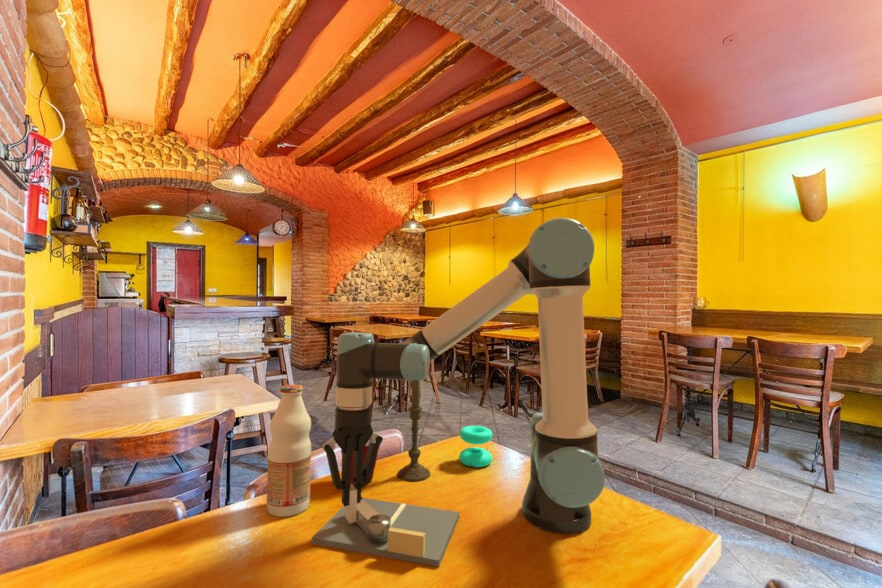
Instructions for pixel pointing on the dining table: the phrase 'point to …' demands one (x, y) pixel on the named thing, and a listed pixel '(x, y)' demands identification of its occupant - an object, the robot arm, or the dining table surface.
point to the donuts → (475, 454)
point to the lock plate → (395, 533)
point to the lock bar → (372, 522)
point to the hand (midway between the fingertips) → (350, 519)
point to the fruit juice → (289, 455)
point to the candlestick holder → (414, 442)
